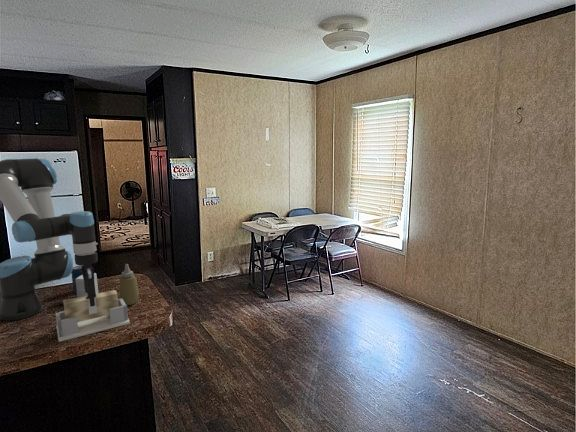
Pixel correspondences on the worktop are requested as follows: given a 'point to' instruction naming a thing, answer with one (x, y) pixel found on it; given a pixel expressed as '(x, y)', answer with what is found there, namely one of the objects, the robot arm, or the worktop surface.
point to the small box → (81, 287)
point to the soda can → (76, 276)
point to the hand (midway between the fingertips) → (92, 310)
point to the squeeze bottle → (128, 287)
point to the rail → (81, 306)
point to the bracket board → (91, 323)
